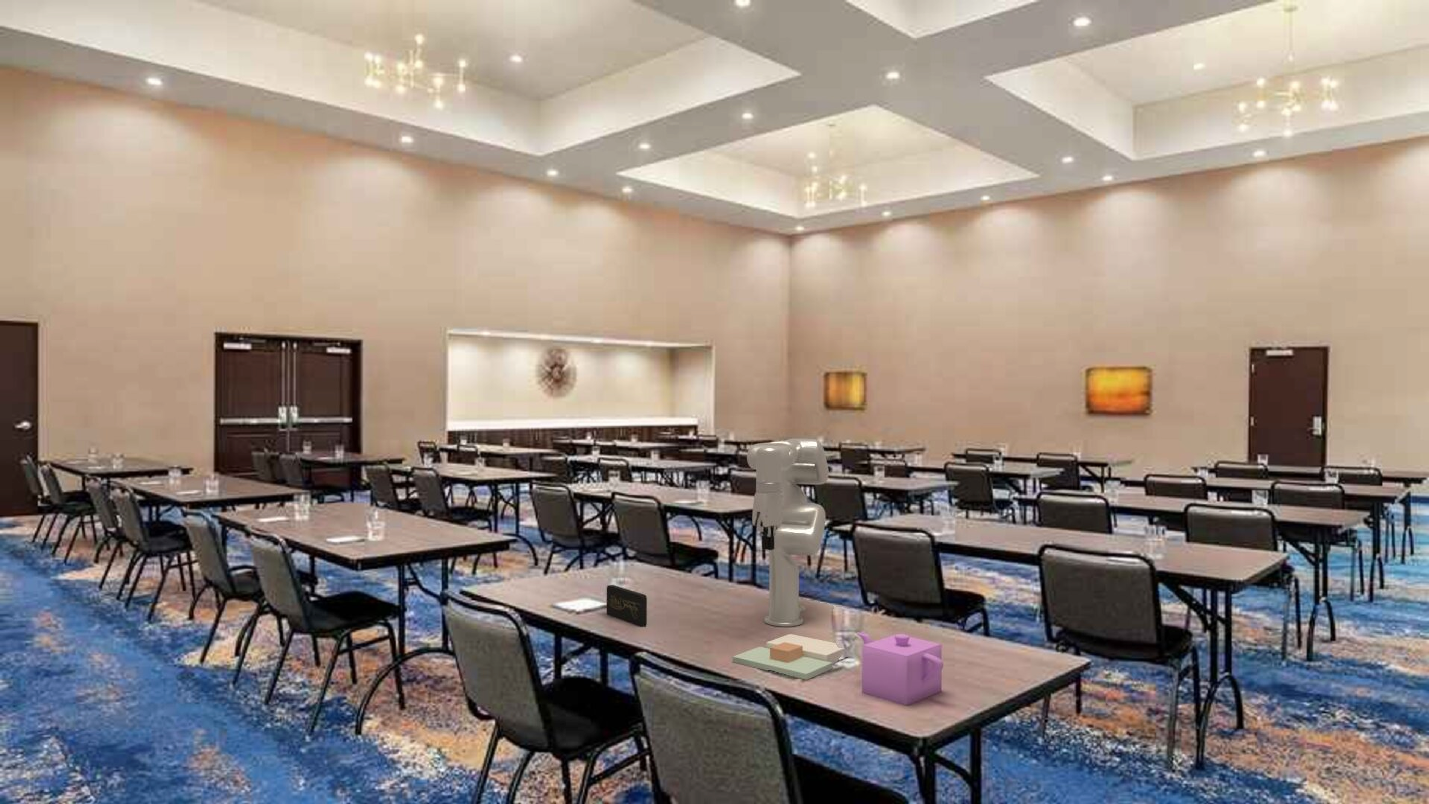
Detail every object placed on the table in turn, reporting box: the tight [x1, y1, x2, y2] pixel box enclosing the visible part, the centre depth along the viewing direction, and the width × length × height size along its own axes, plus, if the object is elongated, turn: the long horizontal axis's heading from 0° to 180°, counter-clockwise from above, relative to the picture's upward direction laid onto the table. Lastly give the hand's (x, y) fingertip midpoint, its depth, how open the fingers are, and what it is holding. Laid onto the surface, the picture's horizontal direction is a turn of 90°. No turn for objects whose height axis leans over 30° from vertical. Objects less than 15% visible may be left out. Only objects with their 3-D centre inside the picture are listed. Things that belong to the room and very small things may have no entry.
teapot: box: [856, 632, 944, 706], centre depth 216 cm, size 15×25×14 cm, turn 44°
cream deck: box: [765, 633, 845, 665], centre depth 246 cm, size 12×20×3 cm, turn 51°
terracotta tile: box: [770, 642, 803, 663], centre depth 238 cm, size 7×6×3 cm
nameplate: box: [606, 584, 648, 628], centre depth 284 cm, size 21×2×10 cm, turn 39°
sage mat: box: [732, 646, 833, 681], centre depth 236 cm, size 13×24×2 cm, turn 51°
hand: (768, 549), depth 262 cm, fingers closed
